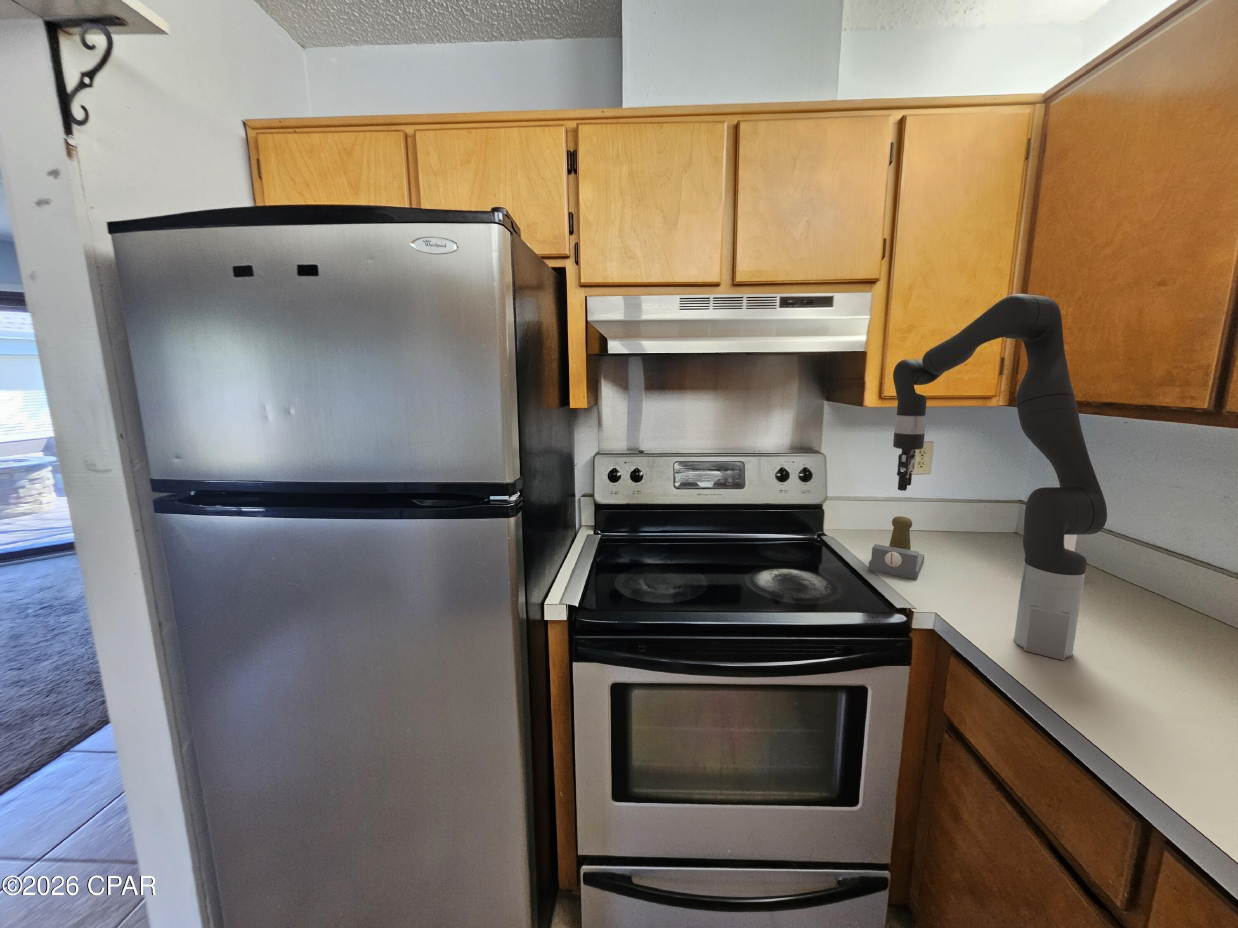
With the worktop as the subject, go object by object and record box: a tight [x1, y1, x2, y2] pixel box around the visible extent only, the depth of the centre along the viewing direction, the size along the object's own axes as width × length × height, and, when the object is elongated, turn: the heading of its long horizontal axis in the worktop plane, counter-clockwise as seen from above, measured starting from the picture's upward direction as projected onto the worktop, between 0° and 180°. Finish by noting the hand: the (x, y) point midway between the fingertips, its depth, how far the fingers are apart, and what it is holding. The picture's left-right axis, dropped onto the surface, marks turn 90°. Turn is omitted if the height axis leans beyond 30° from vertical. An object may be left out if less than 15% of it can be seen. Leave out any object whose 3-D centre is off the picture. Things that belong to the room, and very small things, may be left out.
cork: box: [888, 515, 913, 550], centre depth 146 cm, size 6×6×11 cm
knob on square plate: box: [868, 543, 925, 581], centre depth 145 cm, size 16×12×7 cm
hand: (904, 487), depth 143 cm, fingers open, 8 cm apart
